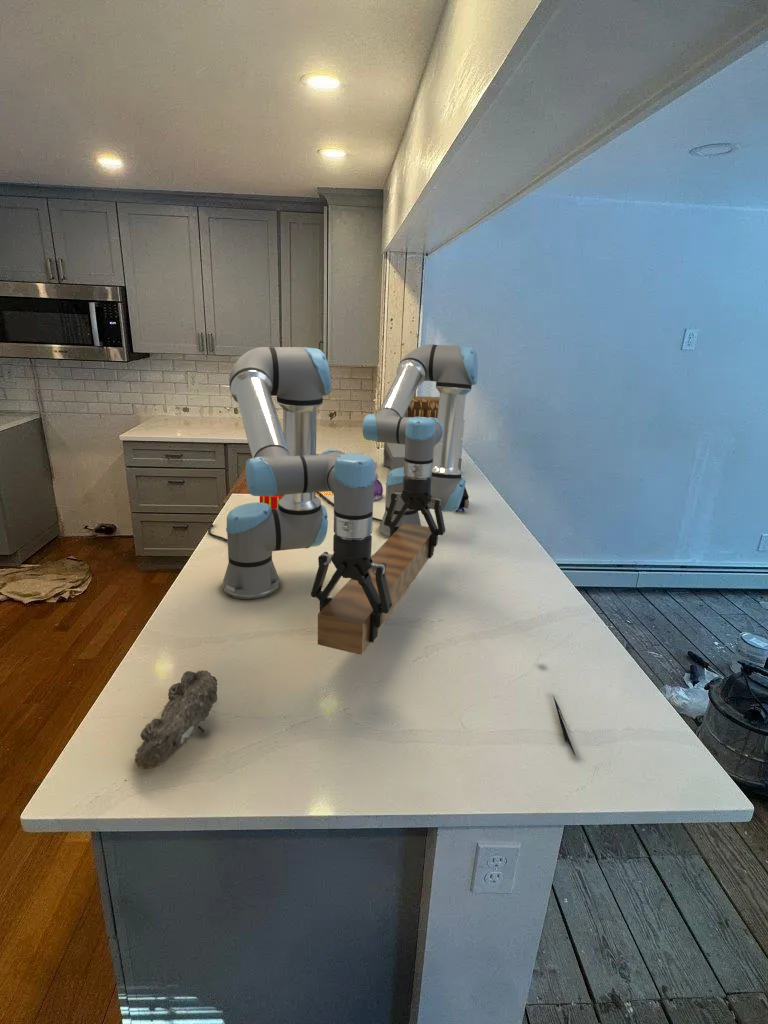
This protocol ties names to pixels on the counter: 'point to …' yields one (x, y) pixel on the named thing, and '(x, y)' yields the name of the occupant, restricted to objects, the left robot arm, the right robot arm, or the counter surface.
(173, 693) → the fossil
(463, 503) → the figurine character
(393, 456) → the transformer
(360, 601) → the thick board
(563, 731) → the feather
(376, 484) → the figurine
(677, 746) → the counter surface
